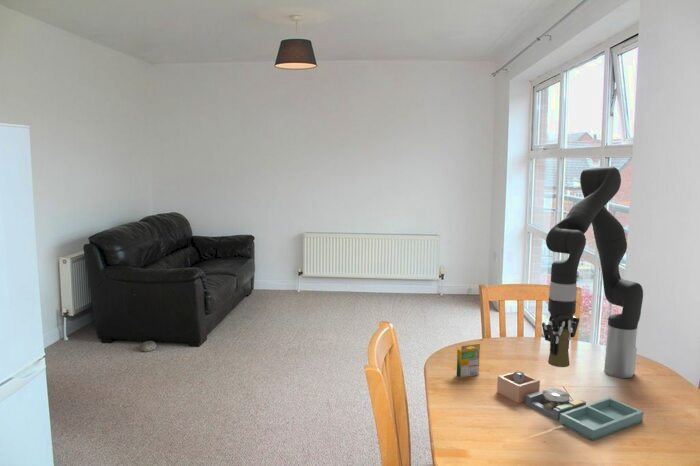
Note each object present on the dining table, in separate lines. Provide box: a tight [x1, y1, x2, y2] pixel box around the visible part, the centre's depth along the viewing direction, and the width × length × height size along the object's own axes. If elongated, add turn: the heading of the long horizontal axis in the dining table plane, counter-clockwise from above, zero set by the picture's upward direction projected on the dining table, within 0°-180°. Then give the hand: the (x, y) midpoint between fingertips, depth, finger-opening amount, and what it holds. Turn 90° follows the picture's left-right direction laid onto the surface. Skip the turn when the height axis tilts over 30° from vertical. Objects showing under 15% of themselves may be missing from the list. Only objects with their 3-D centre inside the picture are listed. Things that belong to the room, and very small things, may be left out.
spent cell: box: [513, 370, 525, 384], centre depth 175 cm, size 3×3×7 cm
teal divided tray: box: [559, 396, 644, 441], centre depth 159 cm, size 22×11×3 cm, turn 120°
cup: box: [496, 370, 541, 404], centre depth 175 cm, size 9×9×6 cm
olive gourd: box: [547, 329, 570, 368], centre depth 164 cm, size 6×6×11 cm
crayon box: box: [456, 343, 481, 378], centre depth 191 cm, size 7×3×12 cm, turn 108°
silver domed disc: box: [542, 388, 571, 408], centre depth 166 cm, size 8×8×4 cm
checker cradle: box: [525, 386, 587, 422], centre depth 167 cm, size 12×12×4 cm
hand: (559, 352), depth 164 cm, fingers closed on olive gourd, 4 cm apart
